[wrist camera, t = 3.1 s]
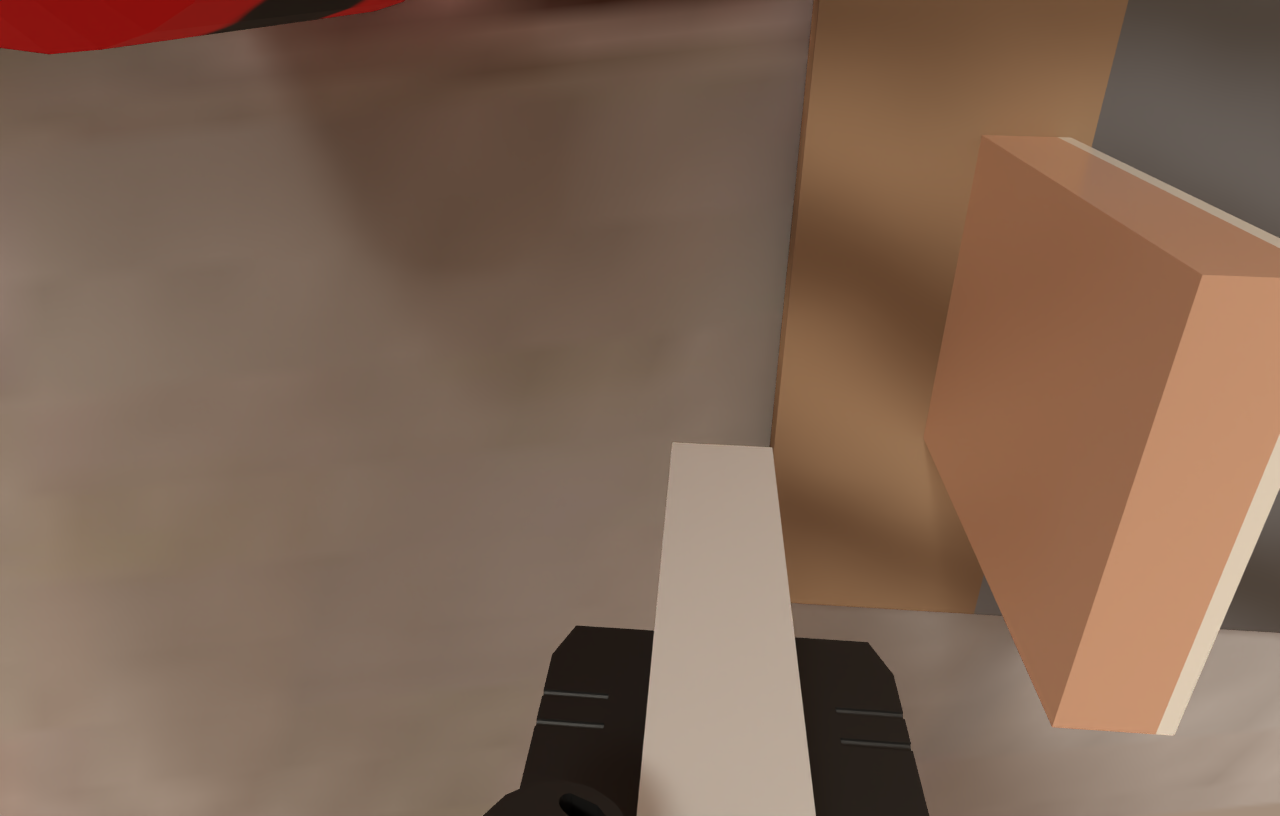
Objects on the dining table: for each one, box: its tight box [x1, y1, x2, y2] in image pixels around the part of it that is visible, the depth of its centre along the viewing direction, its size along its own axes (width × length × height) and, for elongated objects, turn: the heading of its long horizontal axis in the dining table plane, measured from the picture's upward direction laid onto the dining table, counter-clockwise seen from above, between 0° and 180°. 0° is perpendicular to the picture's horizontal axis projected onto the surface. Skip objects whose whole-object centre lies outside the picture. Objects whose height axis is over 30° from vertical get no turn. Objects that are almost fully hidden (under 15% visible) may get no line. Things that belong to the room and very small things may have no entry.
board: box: [770, 0, 1280, 633], centre depth 22 cm, size 20×18×1 cm
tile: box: [923, 135, 1280, 735], centre depth 17 cm, size 8×2×10 cm, turn 179°
